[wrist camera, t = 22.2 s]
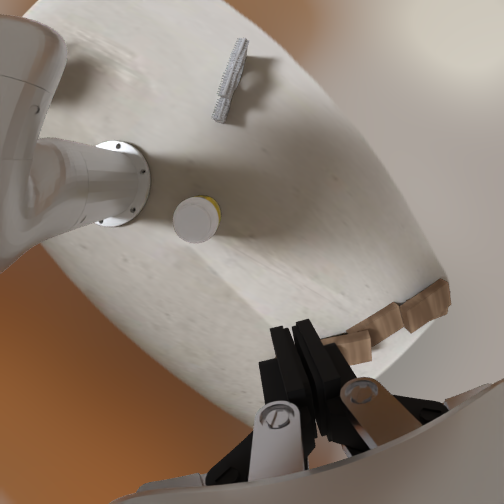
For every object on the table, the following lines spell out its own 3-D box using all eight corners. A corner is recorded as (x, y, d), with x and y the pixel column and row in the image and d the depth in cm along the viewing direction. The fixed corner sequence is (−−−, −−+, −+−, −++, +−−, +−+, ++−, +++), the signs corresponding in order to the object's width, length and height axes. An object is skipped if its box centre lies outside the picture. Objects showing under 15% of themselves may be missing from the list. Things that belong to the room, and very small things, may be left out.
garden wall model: (224, 125, 36) (223, 115, 30) (212, 122, 35) (208, 112, 30) (248, 55, 33) (251, 37, 27) (236, 52, 33) (237, 34, 27)
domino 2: (357, 355, 44) (403, 326, 43) (349, 335, 43) (398, 305, 42) (352, 348, 46) (397, 320, 46) (344, 328, 45) (391, 300, 45)
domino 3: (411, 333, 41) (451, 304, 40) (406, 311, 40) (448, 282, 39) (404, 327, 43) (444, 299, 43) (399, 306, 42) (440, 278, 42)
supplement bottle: (212, 188, 37) (205, 189, 28) (227, 224, 39) (226, 237, 29) (176, 204, 38) (159, 211, 28) (192, 239, 39) (180, 257, 29)
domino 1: (314, 371, 43) (371, 360, 41) (309, 350, 42) (370, 338, 40) (314, 362, 46) (369, 352, 43) (309, 341, 44) (367, 329, 42)
